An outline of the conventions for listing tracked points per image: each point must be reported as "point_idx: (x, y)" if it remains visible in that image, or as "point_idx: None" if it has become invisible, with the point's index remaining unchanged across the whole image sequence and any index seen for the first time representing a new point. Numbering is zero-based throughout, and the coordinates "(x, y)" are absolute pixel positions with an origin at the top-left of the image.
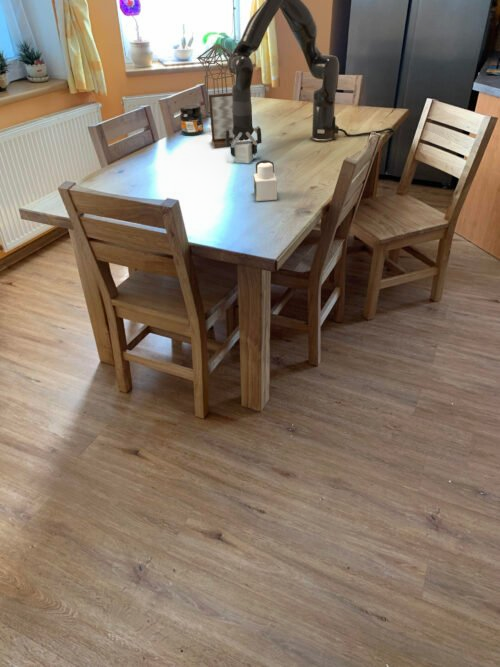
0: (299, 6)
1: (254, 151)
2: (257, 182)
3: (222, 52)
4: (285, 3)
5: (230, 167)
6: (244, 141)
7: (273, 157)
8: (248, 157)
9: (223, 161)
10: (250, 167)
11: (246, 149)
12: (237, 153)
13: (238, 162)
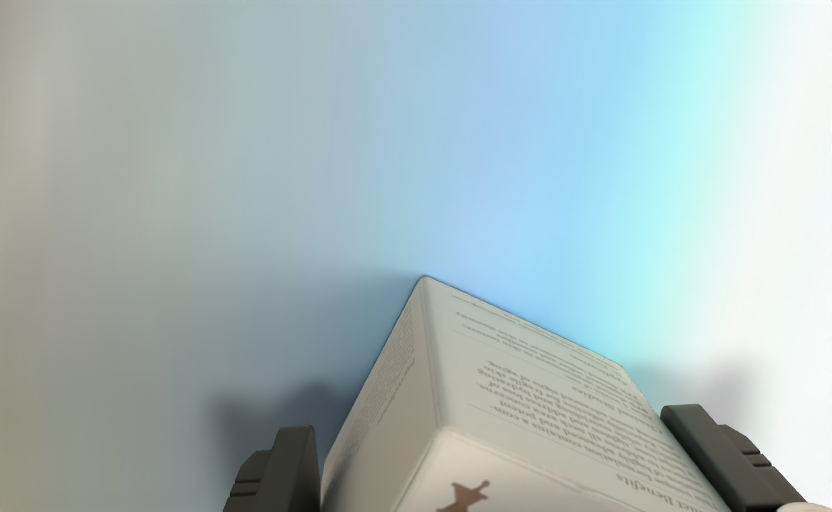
0: None
1: (291, 454)
2: None
3: None
4: None
5: (740, 174)
6: None
7: (16, 465)
8: (429, 309)
9: (772, 463)
10: (422, 89)
11: (475, 389)
12: (634, 424)
13: (578, 346)
